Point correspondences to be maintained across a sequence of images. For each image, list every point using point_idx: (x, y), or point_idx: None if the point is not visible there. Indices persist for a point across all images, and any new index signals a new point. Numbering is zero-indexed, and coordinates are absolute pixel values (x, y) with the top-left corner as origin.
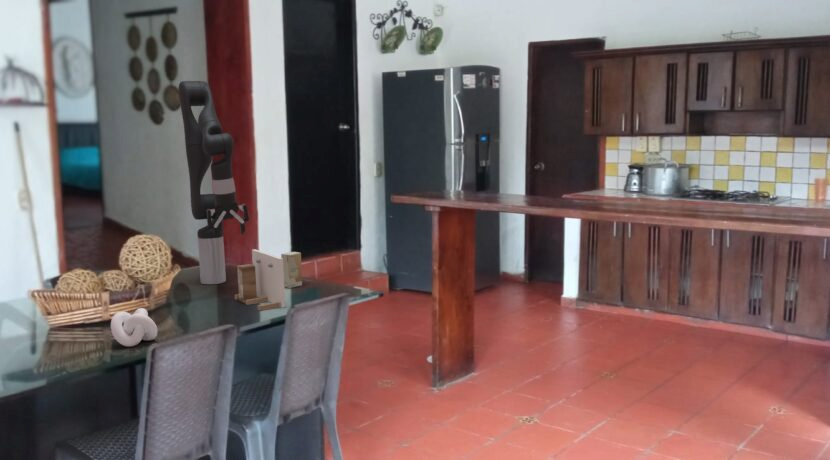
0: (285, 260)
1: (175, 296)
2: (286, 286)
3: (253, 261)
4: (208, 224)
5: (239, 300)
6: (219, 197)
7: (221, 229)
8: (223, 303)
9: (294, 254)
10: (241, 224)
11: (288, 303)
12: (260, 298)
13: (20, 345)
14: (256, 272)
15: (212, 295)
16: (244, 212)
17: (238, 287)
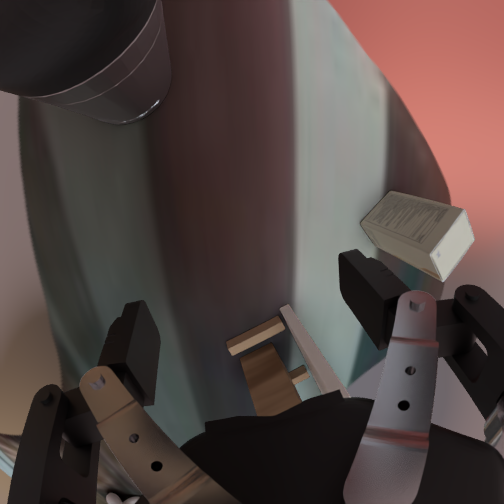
0: (422, 263)
1: (45, 278)
2: (370, 238)
3: (320, 378)
4: (73, 448)
5: (240, 360)
6: None
7: (139, 15)
8: (201, 375)
9: (456, 264)
10: (384, 343)
11: (344, 380)
12: (294, 384)
13: (7, 469)
14: (313, 368)
15: (150, 289)
16: (482, 412)
17: (247, 382)
